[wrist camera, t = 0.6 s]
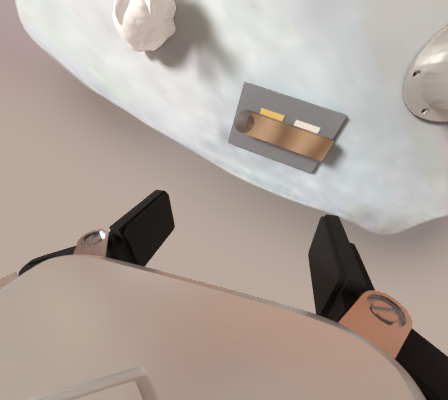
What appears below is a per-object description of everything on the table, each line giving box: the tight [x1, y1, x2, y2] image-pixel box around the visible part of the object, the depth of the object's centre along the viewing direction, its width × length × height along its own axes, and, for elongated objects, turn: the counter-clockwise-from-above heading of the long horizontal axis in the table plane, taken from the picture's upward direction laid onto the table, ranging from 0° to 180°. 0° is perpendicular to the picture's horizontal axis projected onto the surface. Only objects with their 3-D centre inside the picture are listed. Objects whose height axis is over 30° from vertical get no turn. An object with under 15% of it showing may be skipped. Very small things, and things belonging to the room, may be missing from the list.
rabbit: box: [113, 0, 176, 52], centre depth 27 cm, size 12×9×12 cm
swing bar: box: [234, 110, 334, 162], centre depth 32 cm, size 17×4×2 cm, turn 76°
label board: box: [228, 82, 347, 173], centre depth 34 cm, size 18×11×2 cm, turn 76°
